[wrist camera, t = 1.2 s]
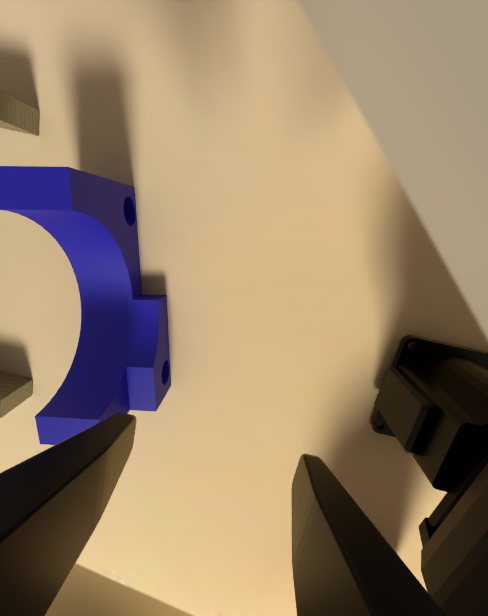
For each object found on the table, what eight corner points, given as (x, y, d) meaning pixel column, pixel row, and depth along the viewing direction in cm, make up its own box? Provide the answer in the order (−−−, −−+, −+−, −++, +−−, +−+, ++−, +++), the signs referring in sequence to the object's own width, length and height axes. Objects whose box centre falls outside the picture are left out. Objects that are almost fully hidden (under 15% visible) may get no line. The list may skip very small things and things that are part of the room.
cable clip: (171, 384, 20) (133, 449, 14) (104, 380, 20) (40, 443, 14) (162, 188, 17) (108, 167, 11) (83, 187, 17) (-12, 166, 11)
